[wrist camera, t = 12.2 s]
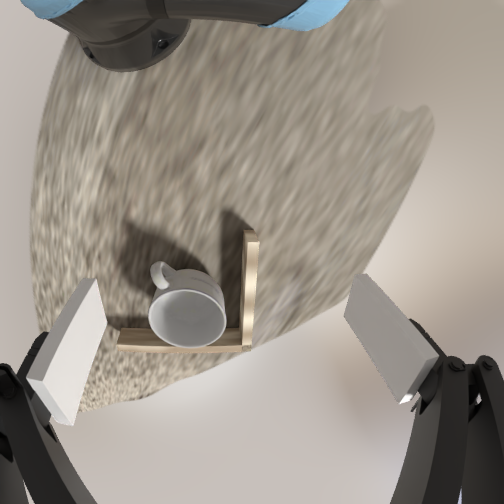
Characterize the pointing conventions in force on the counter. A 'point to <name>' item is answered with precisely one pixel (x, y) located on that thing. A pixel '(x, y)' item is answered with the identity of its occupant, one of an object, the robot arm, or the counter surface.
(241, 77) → the counter surface
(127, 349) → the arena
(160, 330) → the teacup
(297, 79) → the counter surface
